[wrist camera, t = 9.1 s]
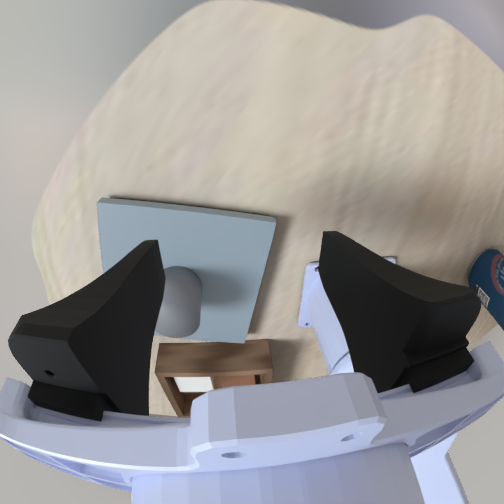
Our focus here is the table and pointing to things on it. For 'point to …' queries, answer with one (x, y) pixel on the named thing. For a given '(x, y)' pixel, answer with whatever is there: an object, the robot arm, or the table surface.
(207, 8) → the table surface
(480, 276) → the soda can
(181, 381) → the off-white block
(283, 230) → the table surface
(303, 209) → the table surface
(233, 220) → the lid
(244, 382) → the terracotta block
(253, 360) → the storage box
